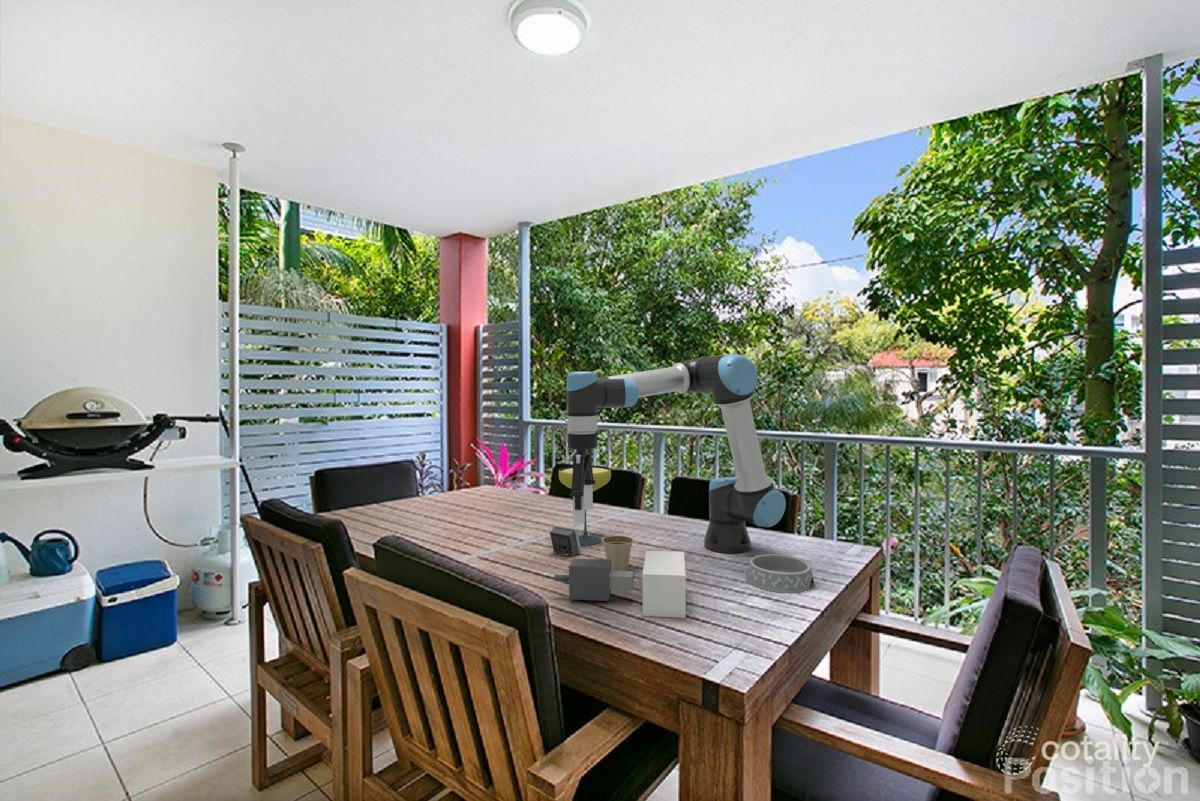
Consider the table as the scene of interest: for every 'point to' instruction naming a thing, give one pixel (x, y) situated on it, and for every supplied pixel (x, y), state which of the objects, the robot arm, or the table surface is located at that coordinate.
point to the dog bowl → (779, 573)
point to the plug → (595, 579)
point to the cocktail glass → (601, 479)
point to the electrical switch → (565, 540)
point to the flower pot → (618, 551)
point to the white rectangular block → (664, 584)
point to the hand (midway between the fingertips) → (583, 515)
